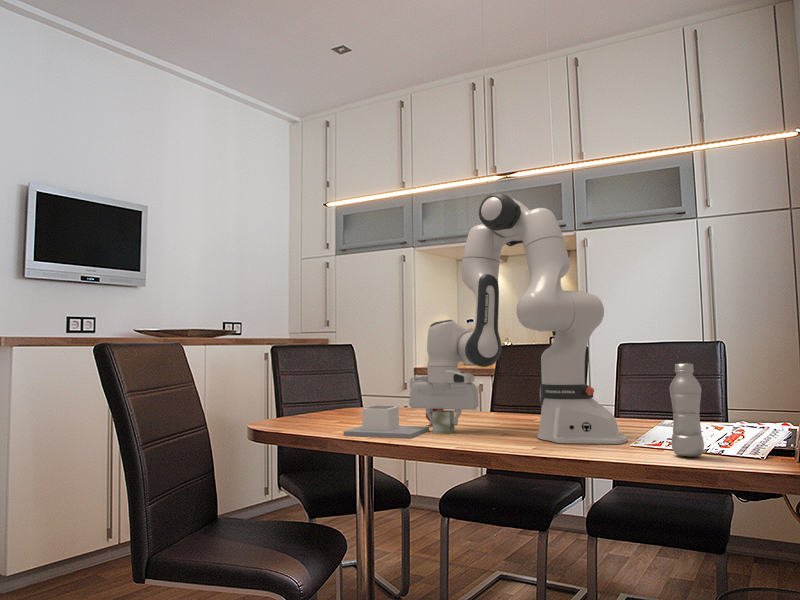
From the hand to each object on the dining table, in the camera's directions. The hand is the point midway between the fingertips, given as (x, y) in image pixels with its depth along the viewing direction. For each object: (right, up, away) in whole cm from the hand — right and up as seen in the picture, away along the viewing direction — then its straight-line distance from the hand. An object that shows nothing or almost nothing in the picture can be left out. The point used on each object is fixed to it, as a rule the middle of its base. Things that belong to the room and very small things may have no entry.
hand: (443, 424), depth 178 cm
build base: (-16, -2, -1) cm, 16 cm away
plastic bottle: (+50, +2, -44) cm, 66 cm away
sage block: (0, -2, 0) cm, 2 cm away
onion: (-2, -4, +15) cm, 16 cm away
